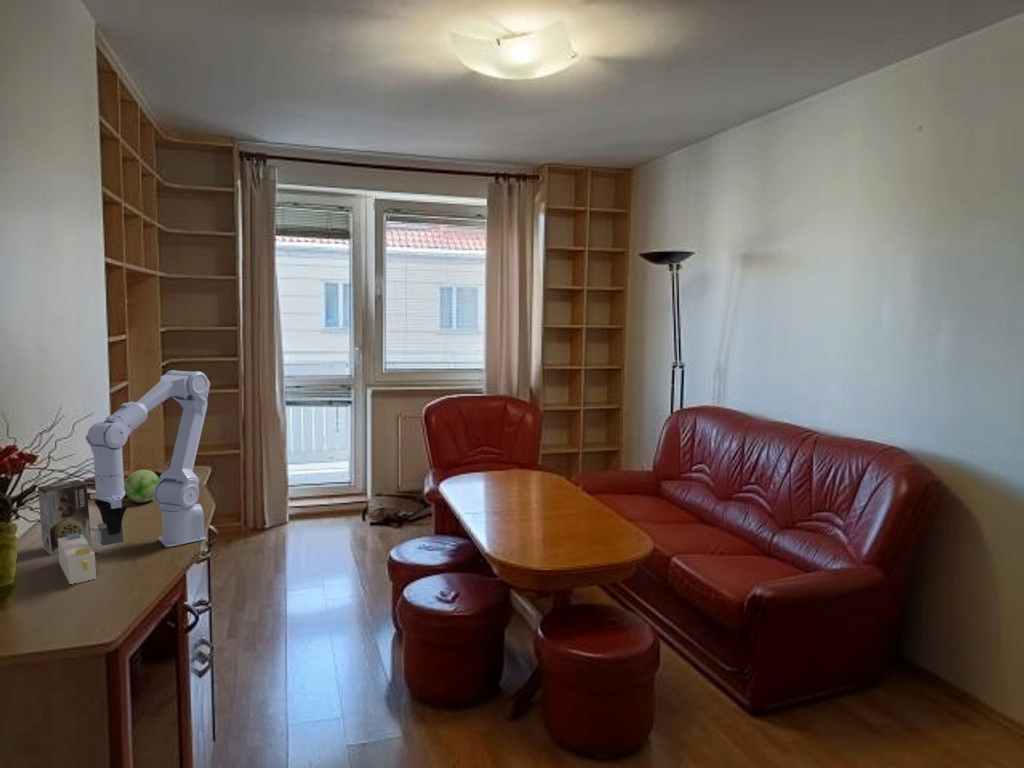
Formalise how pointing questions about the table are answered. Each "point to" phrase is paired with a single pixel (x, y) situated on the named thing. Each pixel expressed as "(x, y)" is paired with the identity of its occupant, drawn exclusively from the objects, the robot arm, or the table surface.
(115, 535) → the plug
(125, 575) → the table surface
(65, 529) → the coffee box
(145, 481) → the decorative ball
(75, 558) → the socket box
